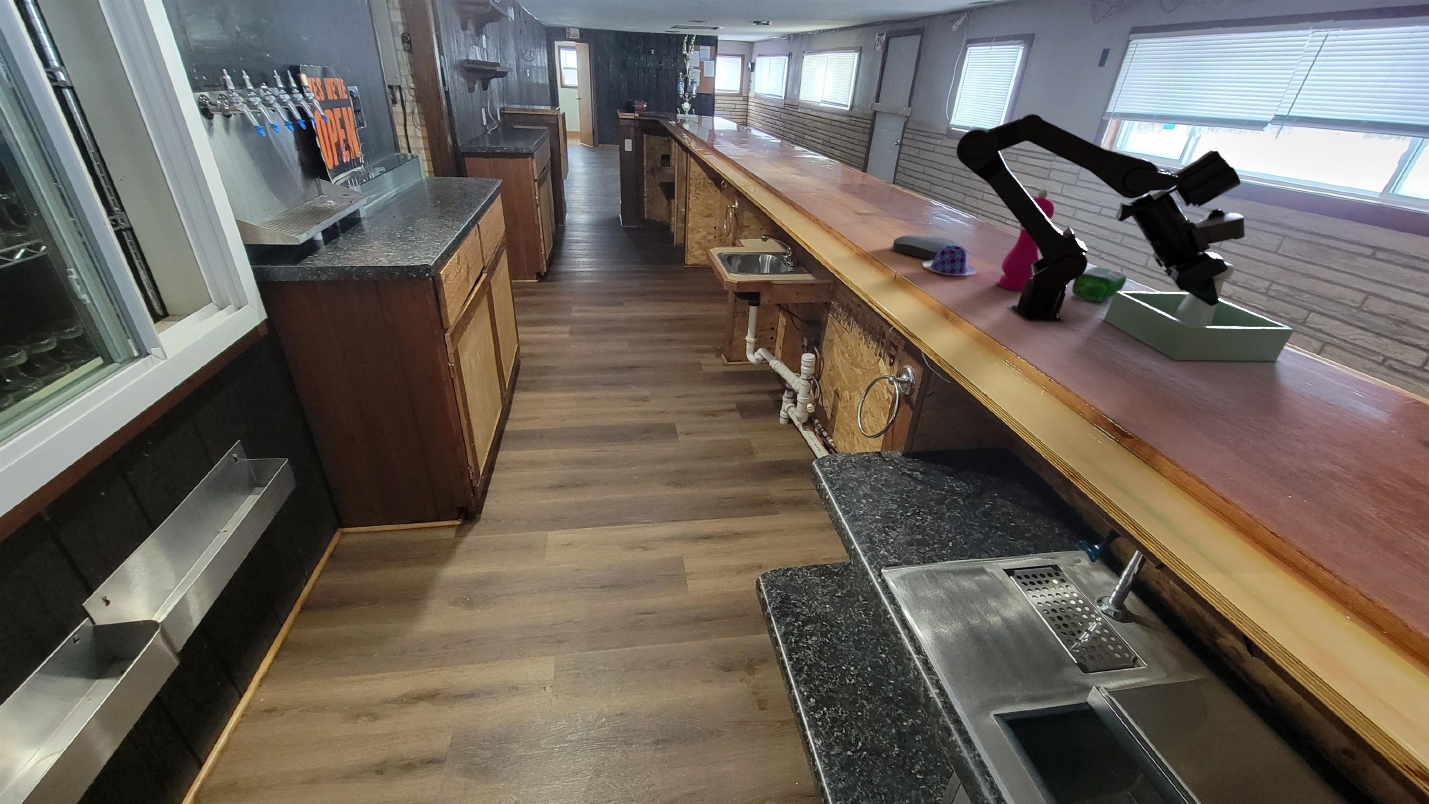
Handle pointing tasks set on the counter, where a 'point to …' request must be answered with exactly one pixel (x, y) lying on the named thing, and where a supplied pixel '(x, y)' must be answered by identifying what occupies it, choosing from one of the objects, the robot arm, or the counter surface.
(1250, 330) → the bin
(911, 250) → the media streaming box
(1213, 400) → the counter surface
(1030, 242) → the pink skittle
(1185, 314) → the salt shaker
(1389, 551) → the counter surface
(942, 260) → the patterned bucket hat
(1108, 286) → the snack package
